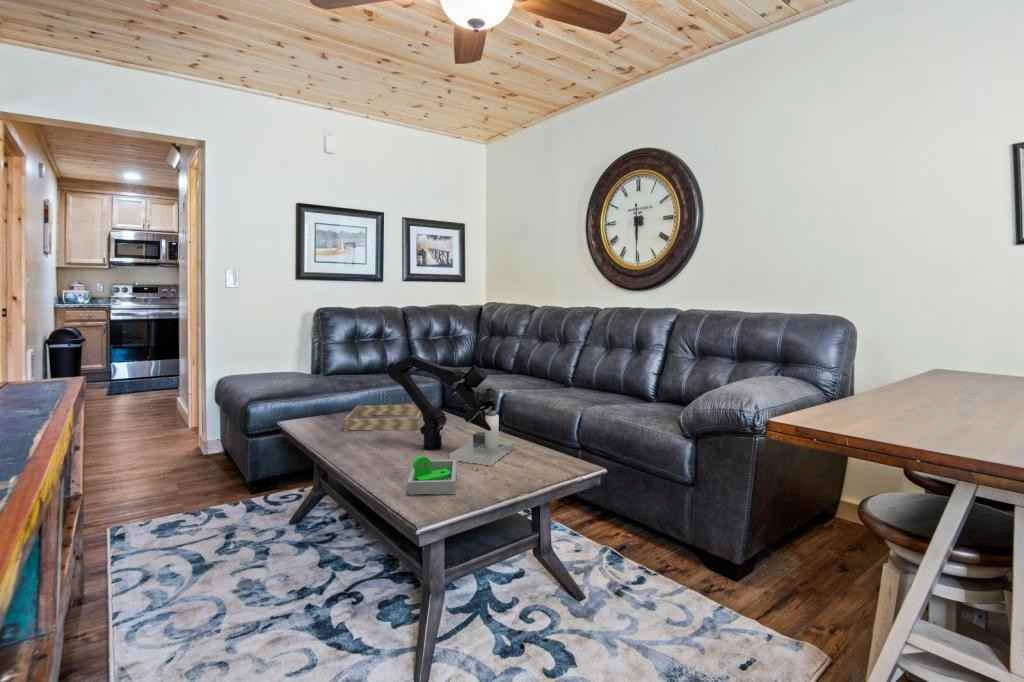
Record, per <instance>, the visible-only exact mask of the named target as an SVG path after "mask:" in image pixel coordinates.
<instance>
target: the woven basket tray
mask: <svg viewBox="0 0 1024 682" xmlns="http://www.w3.org/2000/svg"><path fill="white" fill-rule="evenodd" d="M372 415H405V416H416V417H411V418H410V417H409V418H408V417H407V418H405V417H403V418H402V417H400V418H396V417H395V418H359V417H373V416H372ZM422 417H423V416H422V413H421V411H420V410H419V408H418V407H417V406H416V404H387V405H386V404H385V405H384V404H383V405H382V404H381V405H378V404H375V405H372V404H371V405H356V406H355V407H354V408H353V409H352V410H351V412H349V414H347V416H346V417H345V418H344V419H343V431H344V430H383V431H415V430H414V429H419V430H420V427H419V426H421V424H422V421H423V418H422ZM421 420H422V421H421ZM420 423H421V424H420ZM412 429H413V430H412Z"/></svg>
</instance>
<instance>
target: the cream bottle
mask: <svg viewBox="0 0 1024 682" xmlns="http://www.w3.org/2000/svg"><path fill="white" fill-rule="evenodd" d="M496 411H497V410H496ZM496 411H495V410H489V411H488V414H486V413H485V414H486V415H485V414H484V419H485V420H486V421H487V423H488V424H489V426H490V428H491V430H490V431H488V430H486V429H484V433H485V449H490V450H498V449H499V441H500V440H499V432H500V431H499V427H500V425H499V419H500V417H499V414H498V413H497V414H496Z"/></svg>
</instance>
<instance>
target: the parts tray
mask: <svg viewBox="0 0 1024 682" xmlns="http://www.w3.org/2000/svg"><path fill="white" fill-rule="evenodd" d="M429 460H430V459H429ZM457 462H458V461H457V460H450V459H437V460H436V459H433V460H430V463H431V471H435V470H440V469H445V468H446V469H448V470H449V471H451V477H450V479H447V480H431V481H415V469H414V468H413V465H411V466H412V467H411V469H410V473H409V475H408V479H407V490H406V491H407V495H408V494H435V495H447V494H446V493H455V494H456V488H455V487H456V485H457V484H456V483H457V473H456V472H457V470H458V469H457V464H458V463H457ZM423 467H424V462H422V463H420V465H419V469H421V468H423Z"/></svg>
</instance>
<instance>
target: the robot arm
mask: <svg viewBox="0 0 1024 682" xmlns="http://www.w3.org/2000/svg"><path fill="white" fill-rule="evenodd" d="M413 368H415V369H418V370H420V371H422V372H425V373H428V374H429V375H433V376H435V377H437V378H438V379H439V381H440V382H442V383H444V384H445V385H447V386H452V387H450V389H451V391H450V395H451V396H453V395H454V394H457V395H458V397H460V399H462V402H463V405H464V406H465V407H466V406H467V407H468V408H469V410H468V411H467V412H466V413H464V415H463V420H464V421H465V422H466V424H467V423H469V424H473V425H475V426H477V427H479V428H481V429H484V430H485V429H486V430H488V431H490V430H491V428H490V426H489V424H488V423H487V421H486V420H485V415H486V414H488V411H489V410H495V411H496V414H498V411H497V406H498V403H499V402H498V401H497V400H496V399H495V398H497V396H496V392H497V390H495V389H494V388H492V387H489V388H486V389H485V392H483V393H482V392H480V391H476V390H475V389H477V388H479V386H480V385H481V384H483V382H484V381H485V380H486V379H488V376H487V375H488V374H487V373H486V372H485V371H486V370H483V369H482V368H481V367H478V366H477V365H476V364H475V365H472V366H471V367H470V369H469V370H468V371H467V372H466V371H462V370H461V369H460V368H457V367H452V366H443V365H440V364H438V363H436V362H432V361H430V360H428V359H425V358H423V357H421V356H419V355H417V354H413V355H408V356H406V358H404V359H401V360H400V361H396V362H392V363H390V364H388V365H387V368H386V374H387V375H388V377H389V378H391V380H392V381H393V382H395V383H397V384H399V385H400V386H401V387H402V388H403V390H404V391H405V392H406V393H407V395H408V396H409V398H410V399H411V401H412V402H413V403H414V405H416V406H417V407H418V408H419V410H420V411H421V413H422V416H423V418H422V422H423V423H424V424H423V425H422V426H421V428H420V427H419V431H420V434H421V435H423V450H424V451H425V450H428V449H431V450H440V449H441V448H442V447H443V446H442V445H443V440H442V437H443V435H442V434H441V431H443V429H444V427H445V426H446V425H447V416H446V413H445V412H444V411H443V410H442V408H441V407H440V406H436V407H435V406H434V405H432V403H431V401H429V400H428V398H427V397H426V396H425V395H424V393H423V391H422V390H421V389H420V388H419V386H418V385H417V384H416V383H415V381H414V379H412V375H411V373H412V372H411V369H413ZM461 381H462V382H461ZM453 385H455V386H453ZM500 425H502V422H501V419H500V418H499V426H500Z"/></svg>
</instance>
